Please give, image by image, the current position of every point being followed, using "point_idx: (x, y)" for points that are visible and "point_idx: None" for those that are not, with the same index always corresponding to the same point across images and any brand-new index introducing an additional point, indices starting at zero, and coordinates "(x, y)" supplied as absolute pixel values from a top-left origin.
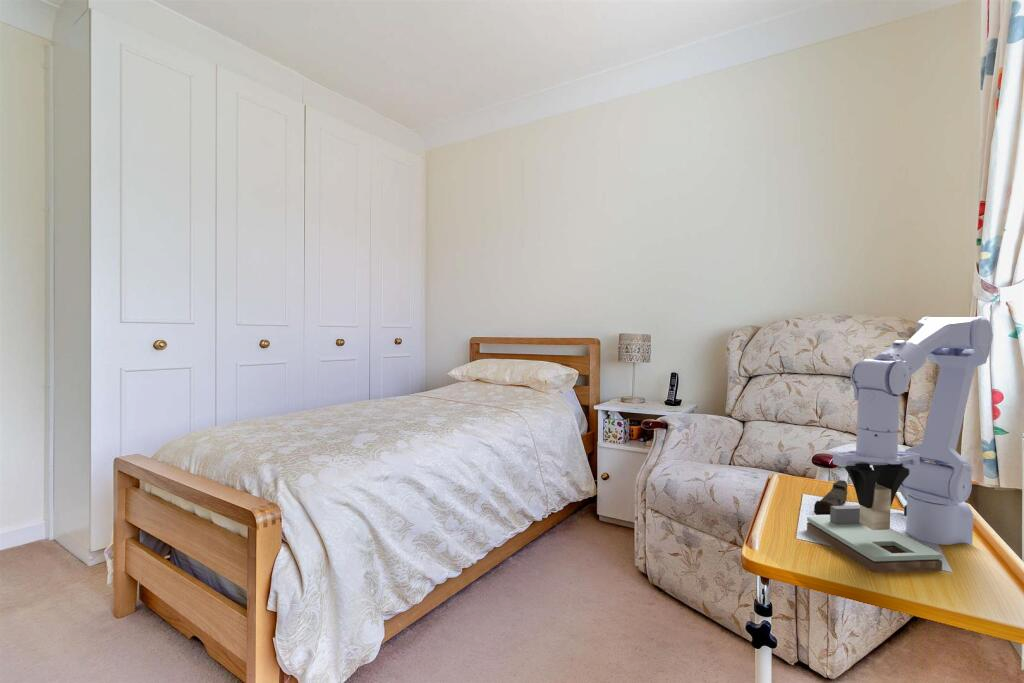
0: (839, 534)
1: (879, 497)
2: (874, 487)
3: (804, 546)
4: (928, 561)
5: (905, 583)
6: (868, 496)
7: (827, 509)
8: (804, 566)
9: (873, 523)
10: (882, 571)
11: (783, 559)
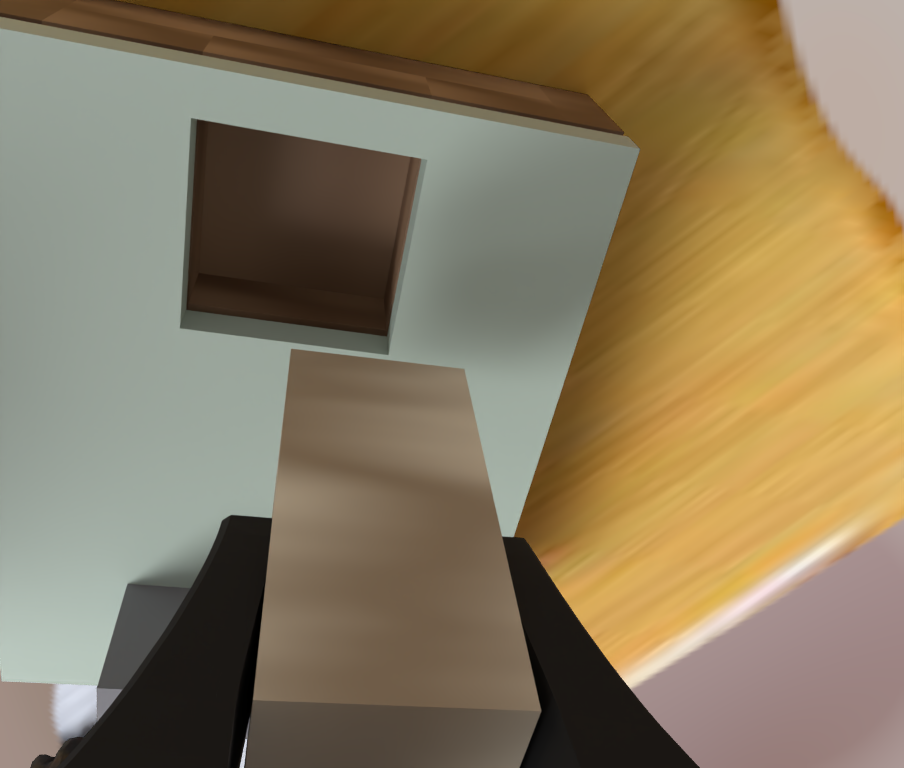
0: (508, 486)
1: (448, 610)
2: (576, 743)
3: (562, 518)
4: (117, 35)
5: (388, 8)
6: (590, 642)
7: None
8: (803, 341)
9: (470, 408)
10: (535, 100)
11: (830, 425)
